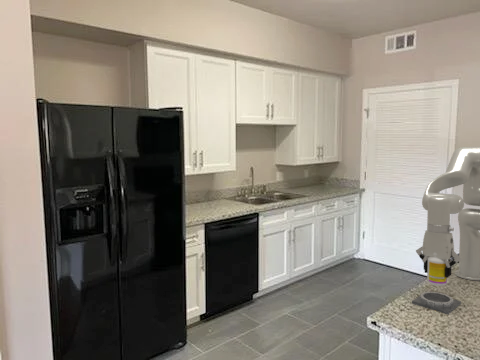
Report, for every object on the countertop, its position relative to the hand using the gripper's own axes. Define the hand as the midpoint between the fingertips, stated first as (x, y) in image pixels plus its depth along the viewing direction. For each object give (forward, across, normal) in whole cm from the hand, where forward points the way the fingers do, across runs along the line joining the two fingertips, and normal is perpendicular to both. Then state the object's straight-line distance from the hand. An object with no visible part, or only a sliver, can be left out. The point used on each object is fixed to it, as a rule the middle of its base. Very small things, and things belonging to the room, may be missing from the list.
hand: (437, 273), depth 140 cm
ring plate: (+12, 0, 0) cm, 12 cm away
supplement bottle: (+4, 0, 0) cm, 4 cm away
